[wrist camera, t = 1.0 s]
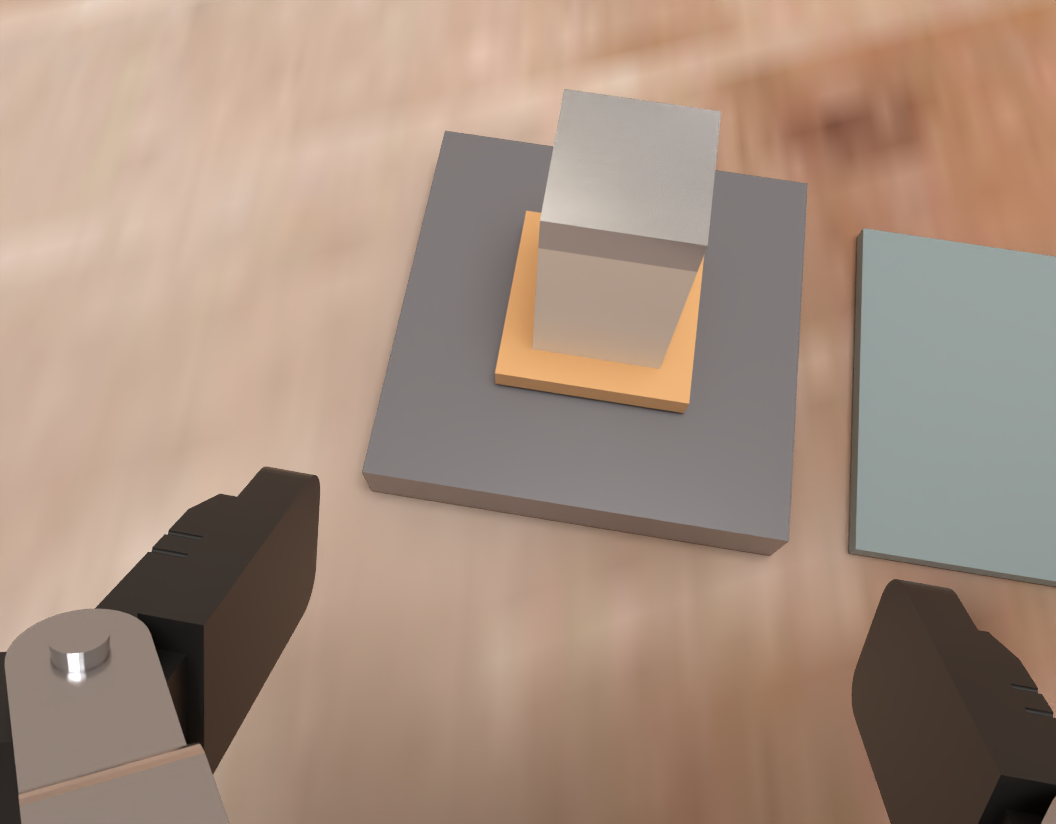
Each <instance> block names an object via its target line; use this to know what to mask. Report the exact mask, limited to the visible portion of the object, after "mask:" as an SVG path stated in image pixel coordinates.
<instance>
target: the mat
mask: <svg viewBox="0 0 1056 824" xmlns="http://www.w3.org/2000/svg"><path fill="white" fill-rule="evenodd" d="M849 553H851V554H857V555H863V556H869V557H875V558H882V559H888V560H894V561H900V562H906V563H912V564H919V565H925V566H931V567H937V568H943V569H949V570H956V571H962V572H968V573H974V574H980V575H986V576H993V577H999V578H1005V579H1011V580H1017V581H1023V582H1030V583H1036V584H1042V585H1048V586H1054V587H1056V257H1055V256H1048V255H1041V254H1034V253H1027V252H1021V251H1014V250H1007V249H1000V248H994V247H987V246H980V245H973V244H966V243H960V242H953V241H946V240H939V239H933V238H926V237H919V236H912V235H905V234H899V233H892V232H885V231H878V230H872V229H865V228H863V230H862V231H861V233H860V234H859V236H858V237H857V267H856V305H855V342H854V380H853V417H852V455H851V492H850V530H849Z"/></svg>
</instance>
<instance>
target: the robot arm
mask: <svg viewBox="0 0 1056 824" xmlns="http://www.w3.org/2000/svg"><path fill="white" fill-rule="evenodd" d="M319 503H320V482H319V479H318V477H317V476H316V475H311V474H305V473H300V472H294V471H288V470H283V469H277V468H271V467H263V468H262V469H261V470H260V471H259V472H258V473H257V474H256V476H255V477H254V478H253V479H252V480H251V481H250V483H249V484H248V485H247V486H246V487H245V488H244V490H243V491H242V492H241V493H240V494H239V495H238V497H235V496H230V495H224V494H218V495H216V496H214V497H212V498H210V499H208V500H206V501H204V502H202V503H200V504H198V505H196V506H194V507H192V508H190V509H188V510H187V511H186V512H185V513H184V514H183V516H182V517H181V518H180V519H179V520H178V521H177V522H176V523H175V524H174V525H173V526H172V527H171V528H170V529H169V532H168V535H166V534H165V535H164V536H163V537H162V538H161V539H160V540H159V541H158V542H157V543H156V544H155V545H154V546H153V547H152V552H148V553H147V554H146V555H145V556H144V557H143V558H142V559H141V560H140V561H139V562H138V563H137V564H136V566H135V567H134V568H133V569H132V570H131V571H130V572H129V573H128V574H127V575H126V576H125V577H124V578H123V579H122V580H121V581H120V583H119V584H118V585H117V586H116V587H115V588H114V589H113V590H112V591H111V592H110V593H109V594H108V595H107V596H106V597H105V598H104V600H103V601H102V602H101V603H100V604H99V605H98V606H97V607H96V608H95V609H83V610H76V611H70V612H66V613H62V614H58V615H55V616H53V617H50V618H47V619H45V620H43V621H41V622H38V623H36V624H35V625H33V626H31V627H30V628H28V629H27V630H25V631H24V632H23V633H22V634H20V635H19V636H18V637H17V638H16V639H15V640H14V641H13V642H12V644H11V645H10V647H9V649H8V650H7V652H0V824H229V821H228V818H227V815H226V812H225V810H224V807H223V804H222V801H221V798H220V795H219V792H218V789H217V786H216V783H215V780H214V777H213V774H214V772H215V770H216V768H217V767H218V765H219V763H220V761H221V759H222V758H223V756H224V754H225V752H226V751H227V749H228V747H229V745H230V744H231V742H232V740H233V738H234V736H235V735H236V733H237V731H238V729H239V728H240V726H241V724H242V722H243V720H244V719H245V717H246V715H247V713H248V712H249V710H250V708H251V706H252V705H253V703H254V701H255V699H256V697H257V696H258V694H259V692H260V690H261V689H262V687H263V685H264V683H265V682H266V680H267V678H268V676H269V674H270V673H271V671H272V669H273V667H274V666H275V664H276V662H277V660H278V659H279V657H280V655H281V653H282V651H283V650H284V648H285V646H286V644H287V643H288V641H289V639H290V637H291V636H292V634H293V632H294V630H295V628H296V627H297V625H298V623H299V621H300V620H301V618H302V616H303V614H304V612H305V610H306V608H307V605H308V602H309V600H310V596H311V593H312V589H313V584H314V579H315V572H316V557H317V539H318V521H319ZM852 708H853V713H854V717H855V720H856V723H857V726H858V729H859V732H860V735H861V737H862V740H863V743H864V746H865V749H866V752H867V755H868V758H869V761H870V764H871V767H872V770H873V773H874V776H875V779H876V781H877V784H878V787H879V790H880V793H881V796H882V799H883V802H884V805H885V808H886V811H887V814H888V817H889V820H890V823H891V824H1056V718H1053V711H1052V709H1051V708H1050V706H1049V705H1048V703H1047V702H1046V700H1045V699H1044V697H1043V695H1042V694H1038V688H1037V686H1036V684H1035V683H1034V681H1033V680H1032V678H1031V677H1030V675H1029V674H1028V672H1027V670H1026V669H1025V667H1024V666H1023V664H1022V663H1021V661H1020V660H1019V659H1018V658H1017V657H1016V656H1015V655H1014V654H1013V653H1011V652H1010V651H1009V650H1008V649H1007V648H1006V647H1005V646H1003V645H1002V644H1001V643H1000V642H999V641H998V640H997V639H995V638H994V637H993V636H992V635H991V634H990V633H989V632H985V631H979V630H978V629H977V628H976V626H975V624H974V623H973V621H972V619H971V618H970V616H969V615H968V613H967V611H966V610H965V608H964V606H963V605H962V603H961V601H960V600H959V598H958V596H957V595H956V593H955V592H954V591H953V590H951V589H949V588H943V587H937V586H932V585H926V584H921V583H915V582H909V581H904V580H898V579H894V580H892V581H891V582H889V583H888V585H887V586H886V588H885V590H884V592H883V594H882V597H881V599H880V602H879V605H878V608H877V610H876V613H875V616H874V619H873V621H872V624H871V627H870V630H869V633H868V635H867V638H866V641H865V644H864V646H863V649H862V652H861V655H860V657H859V660H858V663H857V666H856V669H855V672H854V677H853V683H852Z"/></svg>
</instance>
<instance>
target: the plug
mask: <svg viewBox="0 0 1056 824" xmlns="http://www.w3.org/2000/svg"><path fill="white" fill-rule="evenodd" d="M720 118H721V111H715V110H708V109H701V108H694V107H687V106H680V105H673V104H666V103H659V102H652V101H645V100H638V99H631V98H624V97H617V96H610V95H603V94H596V93H589V92H582V91H575V90H569V89H564V93H563V99H562V104H561V109H560V115H559V120H558V126H557V131H556V136H555V142H554V147H553V153H552V158H551V164H550V169H549V174H548V180H547V185H546V191H545V196H544V201H543V207H542V212H541V213H539V212H532V211H526V215H525V220H524V225H523V230H522V235H521V241H520V246H519V251H518V256H517V261H516V267H515V272H514V277H513V282H512V287H511V293H510V298H509V303H508V308H507V313H506V318H505V324H504V329H503V334H502V339H501V344H500V350H499V355H498V360H497V365H496V370H495V384H501V385H508V386H514V387H520V388H527V389H533V390H539V391H546V392H552V393H559V394H565V395H571V396H578V397H584V398H590V399H597V400H603V401H609V402H616V403H622V404H629V405H635V406H641V407H648V408H654V409H660V410H667V411H673V412H679V413H685V411H686V409H687V407H688V405H689V400H690V390H691V380H692V370H693V361H694V351H695V341H696V331H697V321H698V311H699V301H700V291H701V282H702V272H703V262H704V254H705V251H706V249H707V246H708V238H709V228H710V218H711V208H712V198H713V188H714V178H715V168H716V158H717V148H718V138H719V128H720Z"/></svg>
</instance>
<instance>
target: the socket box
mask: <svg viewBox="0 0 1056 824" xmlns="http://www.w3.org/2000/svg"><path fill="white" fill-rule="evenodd" d="M552 153H553V146H546V145H539V144H532V143H526V142H519V141H512V140H505V139H498V138H491V137H484V136H478V135H471V134H464V133H457V132H450V131H445V133H444V137H443V141H442V145H441V149H440V153H439V158H438V162H437V166H436V170H435V174H434V178H433V182H432V186H431V190H430V195H429V199H428V203H427V207H426V211H425V215H424V219H423V223H422V228H421V232H420V236H419V240H418V244H417V248H416V252H415V256H414V260H413V265H412V269H411V273H410V277H409V281H408V285H407V289H406V293H405V297H404V302H403V306H402V310H401V314H400V318H399V322H398V326H397V330H396V335H395V339H394V343H393V347H392V351H391V355H390V359H389V363H388V367H387V372H386V376H385V380H384V384H383V388H382V392H381V396H380V400H379V405H378V409H377V413H376V417H375V421H374V425H373V429H372V433H371V437H370V442H369V446H368V450H367V454H366V458H365V462H364V466H363V470H362V473H363V475H364V477H365V479H366V481H367V483H368V485H369V487H370V489H371V491H376V492H382V493H388V494H394V495H400V496H406V497H412V498H419V499H425V500H431V501H437V502H443V503H449V504H455V505H462V506H468V507H474V508H480V509H486V510H492V511H498V512H505V513H511V514H517V515H523V516H529V517H535V518H541V519H548V520H554V521H560V522H566V523H572V524H578V525H584V526H591V527H597V528H603V529H609V530H615V531H621V532H627V533H634V534H640V535H646V536H652V537H658V538H664V539H670V540H677V541H683V542H689V543H695V544H701V545H707V546H713V547H720V548H726V549H732V550H738V551H744V552H750V553H756V554H763V555H769V556H770V555H772V554H773V553H774V552H775V551H777V550H778V549H779V548H781V547H782V546H783V545H784V544H786V543H787V542H788V541H789V524H790V505H791V486H792V467H793V448H794V429H795V410H796V391H797V372H798V353H799V334H800V315H801V296H802V278H803V259H804V240H805V221H806V202H807V183H800V182H793V181H786V180H779V179H773V178H766V177H759V176H752V175H745V174H738V173H731V172H725V171H718V170H715V178H714V188H713V198H712V208H711V218H710V228H709V238H708V246H707V249H706V251H705V254H704V262H703V272H702V282H701V291H700V301H699V311H698V321H697V331H696V341H695V351H694V361H693V370H692V380H691V390H690V400H689V405H688V407H687V409H686V411H685V413H679V412H673V411H667V410H660V409H654V408H648V407H641V406H635V405H629V404H622V403H616V402H609V401H603V400H597V399H590V398H584V397H578V396H571V395H565V394H559V393H552V392H546V391H539V390H533V389H527V388H520V387H514V386H508V385H501V384H495V370H496V365H497V360H498V355H499V350H500V344H501V339H502V334H503V329H504V324H505V318H506V313H507V308H508V303H509V298H510V293H511V287H512V282H513V277H514V272H515V267H516V261H517V256H518V251H519V246H520V241H521V235H522V230H523V225H524V220H525V215H526V211H532V212H539V213H541V212H542V207H543V201H544V196H545V191H546V185H547V180H548V174H549V169H550V164H551V158H552Z"/></svg>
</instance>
